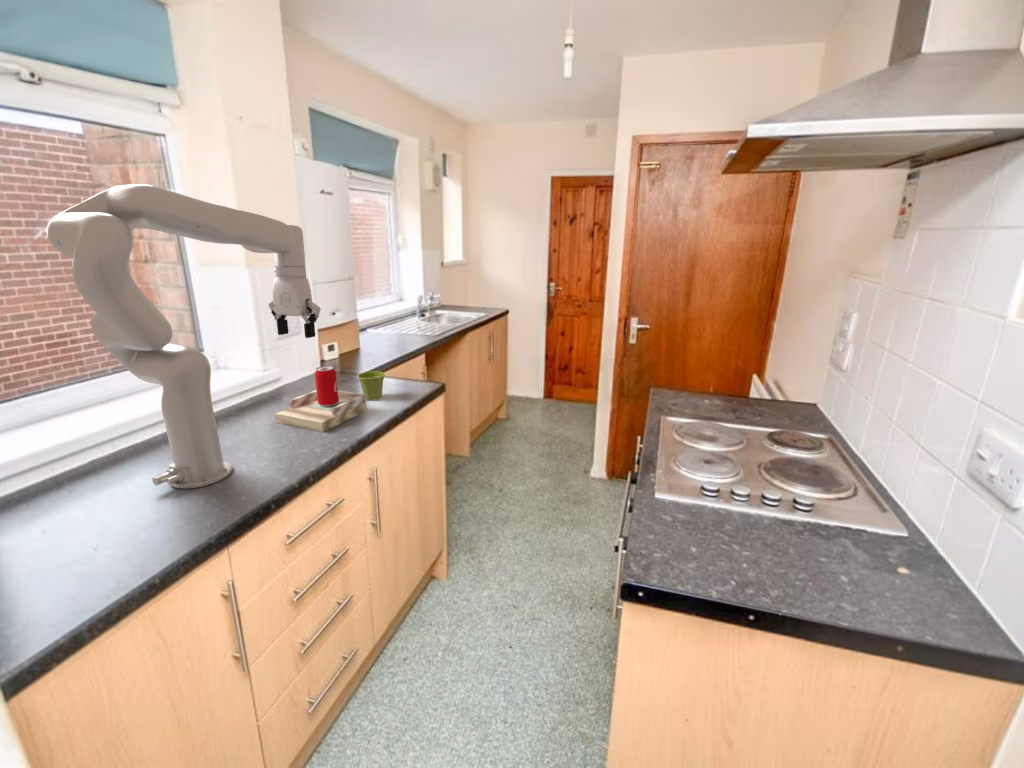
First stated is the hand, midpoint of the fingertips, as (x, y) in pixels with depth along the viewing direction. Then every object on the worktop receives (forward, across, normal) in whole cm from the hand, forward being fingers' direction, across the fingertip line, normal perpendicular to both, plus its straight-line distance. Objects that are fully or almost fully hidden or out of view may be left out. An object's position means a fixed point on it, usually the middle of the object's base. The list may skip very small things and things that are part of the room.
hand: (296, 335), depth 132 cm
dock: (+28, -3, +11) cm, 30 cm away
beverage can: (+25, -3, +14) cm, 28 cm away
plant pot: (+27, 0, +32) cm, 42 cm away
